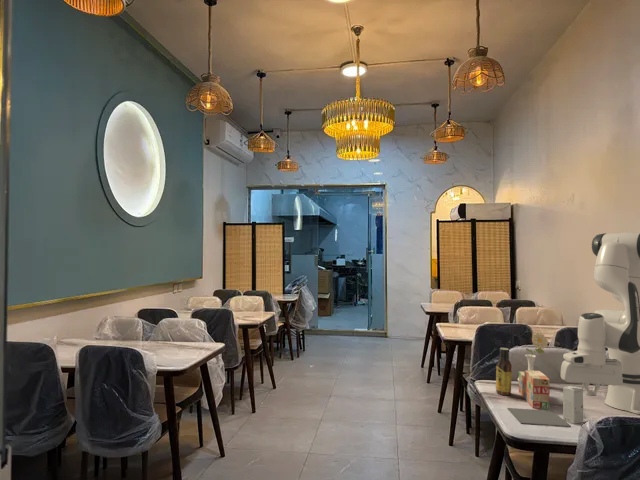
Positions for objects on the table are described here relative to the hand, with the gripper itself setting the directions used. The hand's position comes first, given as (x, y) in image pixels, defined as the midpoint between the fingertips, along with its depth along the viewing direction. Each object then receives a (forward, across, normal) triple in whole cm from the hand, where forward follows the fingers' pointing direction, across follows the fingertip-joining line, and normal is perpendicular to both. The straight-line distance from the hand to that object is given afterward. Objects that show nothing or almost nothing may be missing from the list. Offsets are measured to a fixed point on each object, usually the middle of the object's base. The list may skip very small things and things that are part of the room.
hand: (591, 395), depth 155 cm
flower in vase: (+10, +4, -45) cm, 46 cm away
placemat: (+10, +18, -1) cm, 21 cm away
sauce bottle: (+10, +22, -28) cm, 37 cm away
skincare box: (+10, +6, 0) cm, 12 cm away
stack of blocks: (+10, +12, -22) cm, 27 cm away
